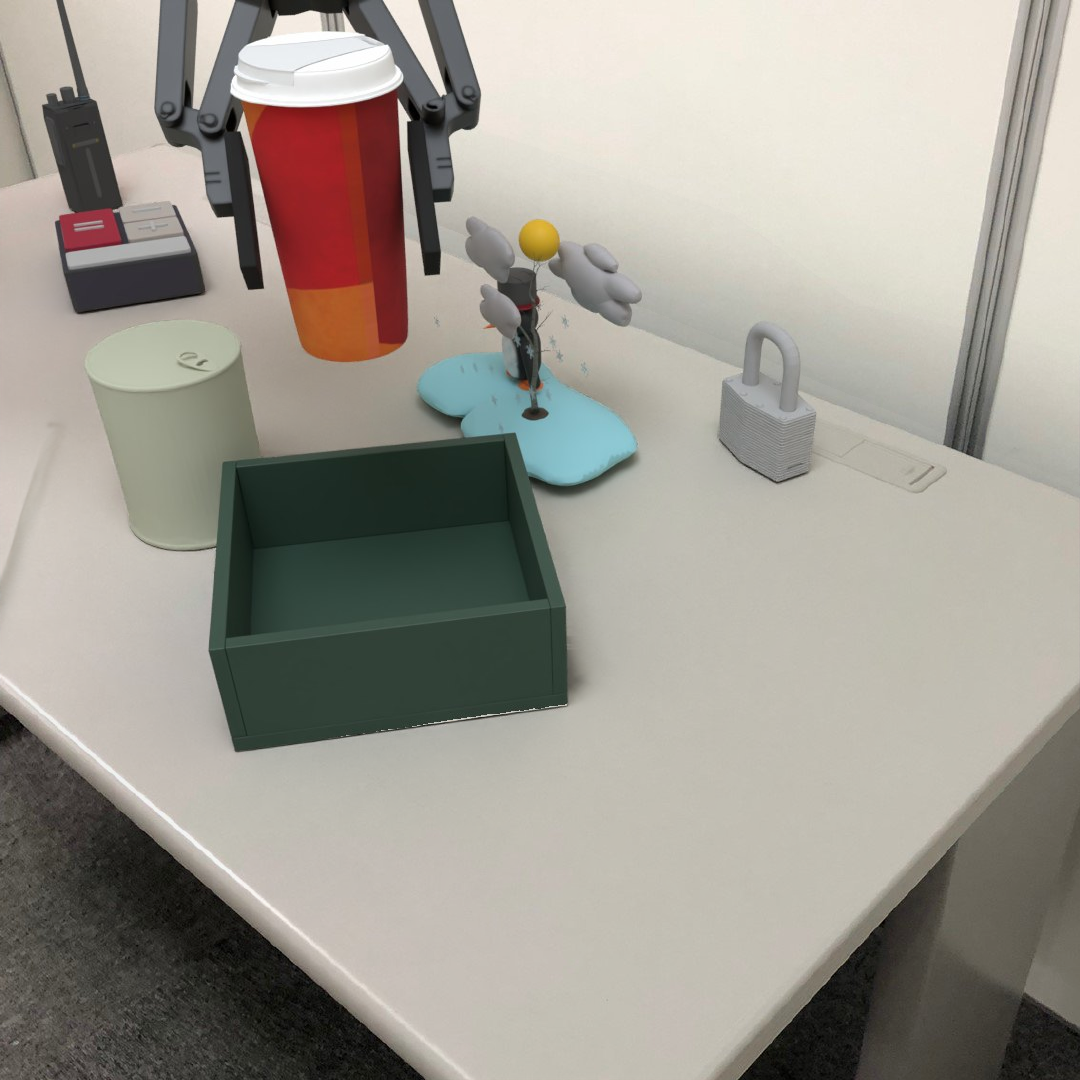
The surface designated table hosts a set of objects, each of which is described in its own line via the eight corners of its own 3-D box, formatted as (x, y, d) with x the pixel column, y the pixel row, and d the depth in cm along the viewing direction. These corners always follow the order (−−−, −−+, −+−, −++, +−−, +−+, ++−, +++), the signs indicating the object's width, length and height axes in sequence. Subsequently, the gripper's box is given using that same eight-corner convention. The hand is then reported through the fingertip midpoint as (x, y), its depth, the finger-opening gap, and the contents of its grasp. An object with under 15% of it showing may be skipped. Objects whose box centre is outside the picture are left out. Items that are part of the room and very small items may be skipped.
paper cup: (384, 293, 67) (351, 19, 58) (456, 344, 62) (431, 54, 54) (252, 331, 64) (194, 45, 55) (317, 388, 59) (266, 85, 50)
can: (204, 567, 76) (161, 395, 68) (98, 525, 79) (46, 358, 72) (302, 496, 82) (272, 332, 74) (199, 460, 85) (161, 300, 78)
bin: (234, 752, 63) (207, 650, 59) (243, 556, 76) (222, 461, 72) (568, 706, 66) (566, 605, 62) (520, 525, 79) (515, 432, 75)
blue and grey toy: (401, 390, 93) (379, 195, 84) (522, 357, 98) (515, 167, 88) (528, 515, 80) (519, 300, 71) (661, 470, 85) (670, 262, 75)
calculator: (174, 195, 115) (196, 244, 104) (184, 240, 118) (206, 292, 107) (51, 211, 112) (60, 264, 101) (64, 257, 114) (74, 313, 103)
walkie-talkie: (109, 197, 125) (54, -17, 113) (125, 205, 123) (72, -11, 111) (65, 209, 122) (4, -8, 110) (81, 218, 121) (22, -2, 108)
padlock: (710, 441, 88) (719, 312, 82) (755, 426, 89) (767, 299, 83) (770, 487, 83) (784, 353, 77) (816, 471, 85) (833, 339, 79)
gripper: (490, -127, 65) (550, 283, 63) (86, -116, 61) (134, 318, 59) (499, -240, 57) (567, 220, 55) (40, -235, 54) (94, 256, 52)
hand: (343, 270), depth 57 cm, fingers closed on paper cup, 8 cm apart
